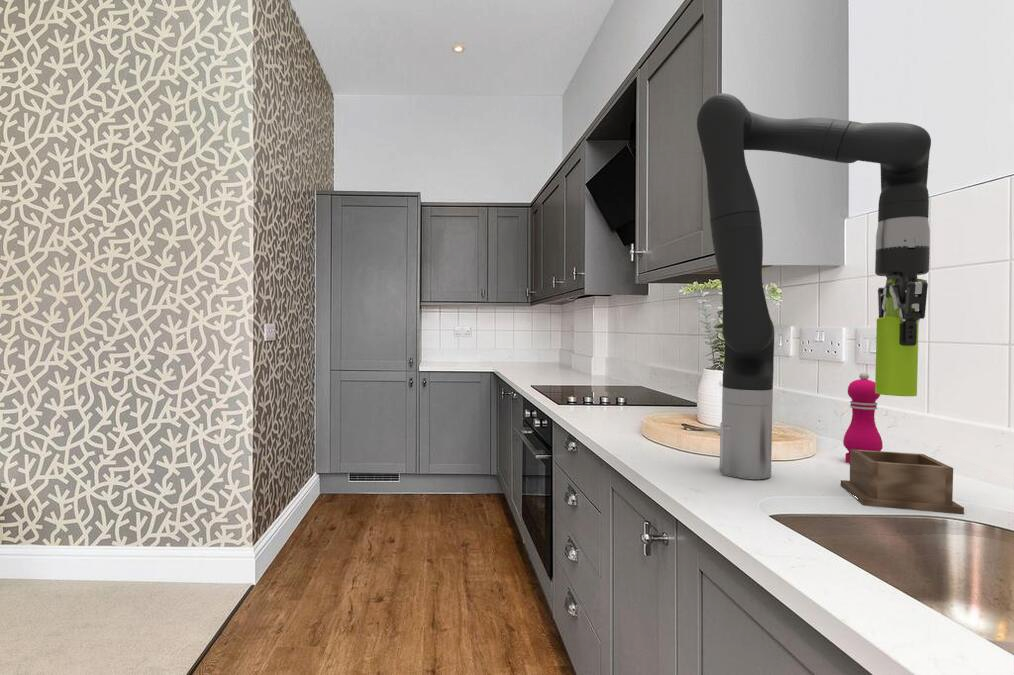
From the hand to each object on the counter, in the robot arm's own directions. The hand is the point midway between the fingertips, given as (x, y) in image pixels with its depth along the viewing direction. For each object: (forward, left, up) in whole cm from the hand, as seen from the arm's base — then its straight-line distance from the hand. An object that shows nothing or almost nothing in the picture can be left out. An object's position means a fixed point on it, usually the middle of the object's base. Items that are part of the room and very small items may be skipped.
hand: (899, 344), depth 94 cm
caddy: (0, 0, -27) cm, 27 cm away
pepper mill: (+3, +27, -27) cm, 38 cm away
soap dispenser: (0, 0, -9) cm, 9 cm away
